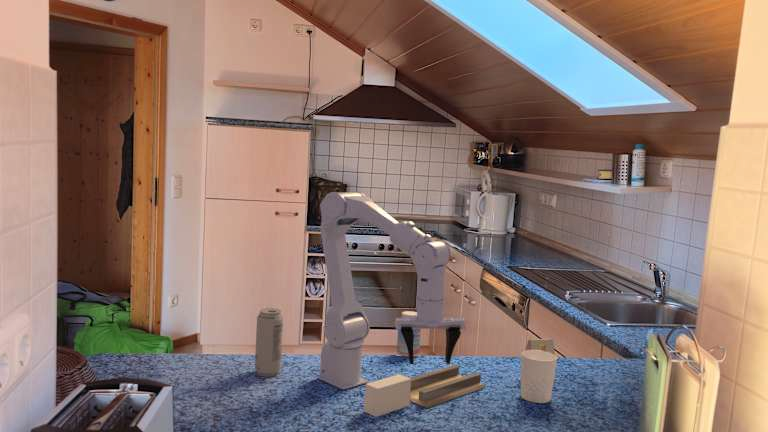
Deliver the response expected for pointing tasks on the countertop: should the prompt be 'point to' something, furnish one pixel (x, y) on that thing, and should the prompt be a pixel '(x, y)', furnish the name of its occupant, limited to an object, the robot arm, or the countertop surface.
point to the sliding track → (442, 386)
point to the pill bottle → (401, 342)
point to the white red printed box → (541, 345)
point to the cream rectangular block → (387, 395)
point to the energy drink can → (268, 342)
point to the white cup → (537, 375)
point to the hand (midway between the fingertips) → (429, 362)
